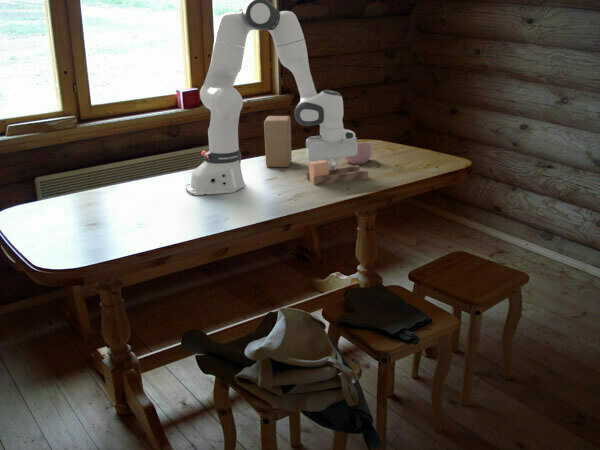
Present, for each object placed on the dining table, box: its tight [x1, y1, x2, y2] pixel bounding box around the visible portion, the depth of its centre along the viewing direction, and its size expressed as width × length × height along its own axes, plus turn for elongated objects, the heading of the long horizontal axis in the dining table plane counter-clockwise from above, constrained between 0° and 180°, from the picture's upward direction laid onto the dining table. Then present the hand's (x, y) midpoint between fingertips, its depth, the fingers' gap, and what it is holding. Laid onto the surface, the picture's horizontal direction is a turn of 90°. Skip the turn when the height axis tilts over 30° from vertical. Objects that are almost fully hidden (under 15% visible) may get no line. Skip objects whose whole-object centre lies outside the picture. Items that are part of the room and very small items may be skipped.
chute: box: [305, 164, 369, 186], centre depth 250 cm, size 22×9×4 cm, turn 110°
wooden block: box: [263, 115, 293, 168], centre depth 271 cm, size 10×10×20 cm
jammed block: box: [308, 160, 329, 183], centre depth 247 cm, size 6×5×7 cm
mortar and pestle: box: [344, 136, 373, 165], centre depth 270 cm, size 12×12×12 cm
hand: (331, 169), depth 248 cm, fingers closed
